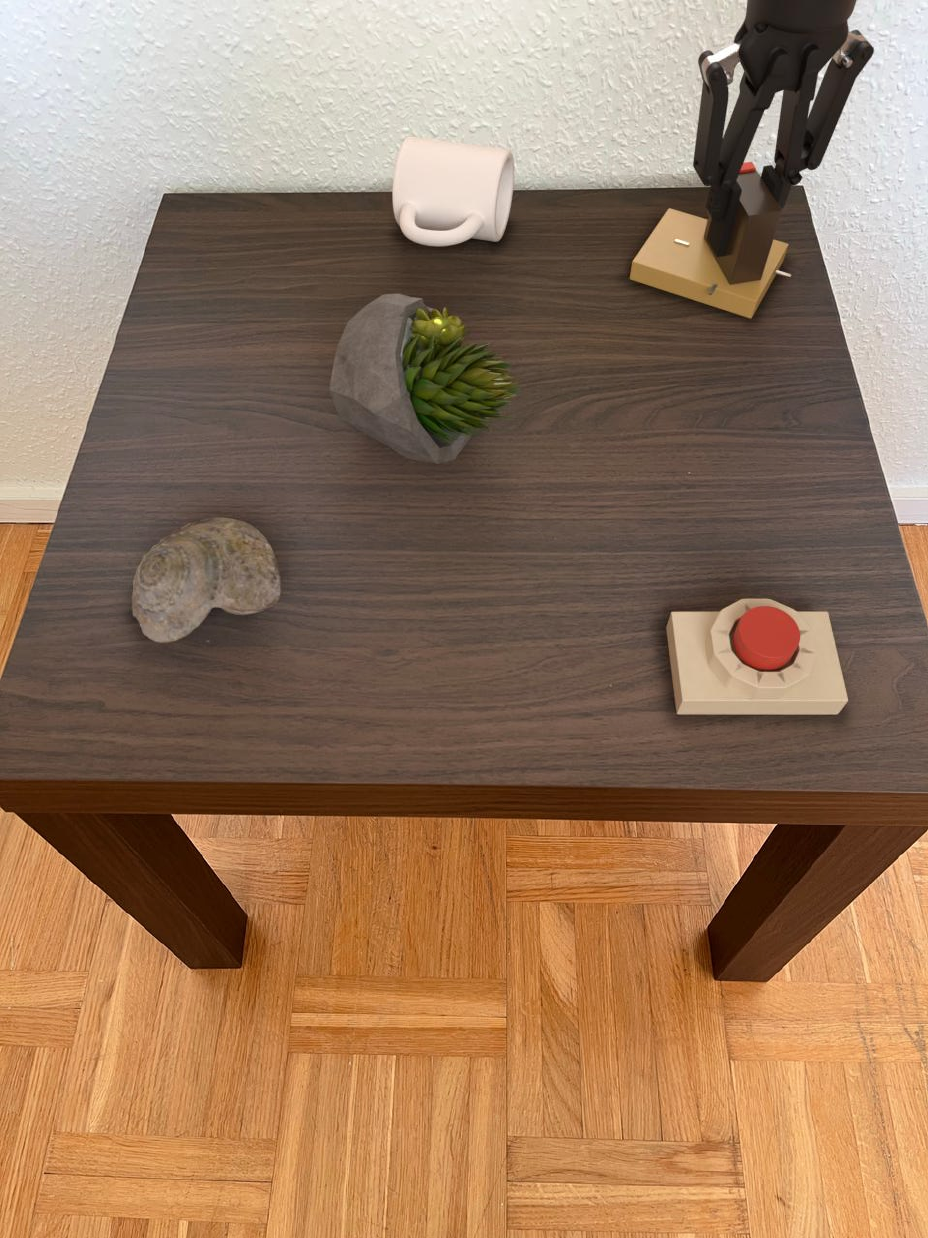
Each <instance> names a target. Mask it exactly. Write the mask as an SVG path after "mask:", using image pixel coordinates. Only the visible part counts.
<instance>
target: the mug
mask: <svg viewBox="0 0 928 1238" xmlns="http://www.w3.org/2000/svg"><path fill="white" fill-rule="evenodd" d="M514 185H515V158H514V154H513V152H512V151H511V150H509V149H503V148H496V147H490V146H483V145H474V144H470V143H469V144H468V143H461V142H454V141H447V140H441V139H432V138H426V137H418V136H412V135H411V136H408V137H406V138H405V139H404V140H403V142H402V143H401V145H400V147H399V150H398V152H397V156H396V161H395V165H394V170H393V178H392V190H391V191H392V193H391V196H392V210H393V215H394V219H395V222H396V224H397V225H398V226H399V227H400V230H401V232H402V234H403V235H404V236H405V237H406V238H407V239H408V240H410V241H412V242H414V243H416V244H419V245H421V246H422V245H423V246H427V247H449V246H455V245H458V244H461V243H464V242H467V241H468V240H470V239H474V240H480V241H486V242H487V241H488V242H493V243H498V242H499V241H500V240H501V239H502V238H503V236H504V234H505V232H506V228H507V225H508V221H509V217H510V213H511V208H512V207H511V206H512V202H513V201H512V200H513V194H514Z"/></svg>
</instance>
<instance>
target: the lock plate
mask: <svg viewBox="0 0 928 1238" xmlns="http://www.w3.org/2000/svg"><path fill="white" fill-rule="evenodd" d="M707 220H708V218H704V217H701V216H697V215H694V214H690V213H687V212H685V211H681V210H677V209H674V208H670V207H668V209H667V210H666V212H665V213H664V215H663V216H662V217H661V219H660V220H659V222H658V223H657V225H656V226H655V228H654V229H653V230H652V232H651V234H649V236H648V238H647V239H646V240H645V242H644V244H643V245H642V247H641V248H640V250H639V251H638V253H637V254H636V255H635V257H634V259H632V262H631V267H630V273H629V280H631V281H634V282H637V283H640V284H643V285H645V286H650V287H652V288H654V289H655V288H656V289H659V290H660V291H661V290H662V291H665V292H667V293H671V294H673V295H676V296H680V297H683V298H686V299H690V300H692V301H696V302H698V303H702V304H704V305H708V306H711V307H714V308H717V309H720V310H723V311H725V312H729V313H732V314H734V315H738V316H740V317H743V318H748V319H750V320H751V319H752V318H753V316H754V315H755V313H756V311H757V310H758V308H759V306H760V304H761V302H762V301H763V298H764V297H765V295H766V293H767V291H768V290H769V288H770V286H771V284H772V283H773V281H774V279H775V277H776V275H778V276H782V277H784V278H788V279H791V277H792V274H791V273H788V272H784V271H781V270H780V268H781V266H782V264H783V262H784V261H785V256H786V254H787V251H788V249H789V243H787V242H784V241H780V240H776V239H775V238H774V239H773V243H772V246H771V249H770V252H769V256H768V259H767V262H766V265H765V269H764V272H763V275H762V278H761V280H757V281H751V282H745V283H739V284H733V285H730V284H729V282H728V281H727V279H726V277H725V275H724V273H723V272H722V270H721V268H720V266H719V264H718V263H717V261H716V259H715V257H714V255H713V254H712V252H711V250H710V248H709V246H708V244H707V243H706V241H705V239H704V233H705V229H706V224H707Z"/></svg>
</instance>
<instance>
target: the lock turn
mask: <svg viewBox="0 0 928 1238" xmlns="http://www.w3.org/2000/svg"><path fill="white" fill-rule="evenodd" d="M756 168H757V167H756V166H755V164H754V163H753V162H752V161H747V162H744V163H743V165H742V168H741V170H740V173H739V175H738V178H737V180H736V181H737V182H738V184H739V186H740V187H741V189H742V192H741V196H740V200H739V203H738V207H737V211H736V215H735V219H734V223H733V226H732V230H731V234H730V238H729V242H728V245H727V249H726V253H725V256H723V257H716V255H715V253H714V252H713V250H712V248H711V246H710V244H709V242H708V241H707V235H708V230H709V226H710V222H711V218H710V217H709V215H707V216H708V217H707V224H706V229H705V233H704V239H705V241H706V243H707V244H708V246H709V248H710V250H711V252H712V254H713V255H714V257H715V259H716V261H717V263H718V264H719V266H720V268H721V270H722V272H723V273H724V275H725V277H726V279H727V281H728V282H729V284H730V285H733V284H739V283H745V282H751V281H757V280H761V278H762V275H763V272H764V269H765V265H766V262H767V259H768V256H769V252H770V249H771V246H772V243H773V239H774V240H775V236H776V232H777V231H778V230H777V229H778V225H779V224H780V219H781V216H782V214H783V209H781V208H780V206H779V205H778V203H777V202H776V200H775V198H774V197H773V195H772V194H771V192H770V191H769V189H768V188H767V186H766V184H765V183H764V181H763V180H762V178H761V174H760V173H759V172H758V171H757V169H756Z"/></svg>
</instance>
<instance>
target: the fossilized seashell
mask: <svg viewBox="0 0 928 1238" xmlns="http://www.w3.org/2000/svg"><path fill="white" fill-rule="evenodd" d="M277 561H278V560H277V558H276V554H275V553H274V550H273V547H272V546H271V543H270V542H269V541H268V540H267V538H266V537H265V536H264V535H263V534H262V532H260V531H259V529H257V528H256V527H254V526H253V525H251V524H250V523H247V521H244V520H238V519H235V518H229V517H224V516H223V517H210V518H204V519H201V520H196V521H195V522H188V523H187V524H185V525H183V526H181V527H180V526H179V528H177V529H175V530H173V531H172V532H171V533H169V534H168V535H167V536H165V538H160V540H159V542H157V543H155V544H154V545H152V547H151V548H150V549H149V551H147V552H146V553H145V554H144V555H143V557H142V559H141V561H140V564H139V565H137V566H136V570H135V575H134V578H133V580H132V588H133V589H132V592H131V593H132V594H131V610H132V611H131V612H132V616H133V618H136V620H137V622H138V625H139V627H141V631H142V634H143V635H144V636H146V637H147V638H148V639H149V640H151V641H153V642H155V643H159V644H168V643H173V642H177V641H179V640H182V639H184V638H186V637H187V636H189V635H190V634H191V633H193V632H194V631H195V630H196V629H197V628H198V627H200V626H201V625H202V623H203V622H204V621H205V620H206V618H207V617H208V616H209V615H210V613H211V611H212V609H214V608H215V609H216V608H218V609H221V610H222V611H224V612H225V613H228V614H232V615H236V616H247V615H253V614H256V613H259V612H264V611H265V610H268V609H269V608H271V607H273V606H274V605H275V604H277V602H279V601H280V600H281V599H282V596H283V591H282V577H281V572H280V569H279V563H278V562H277Z"/></svg>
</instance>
